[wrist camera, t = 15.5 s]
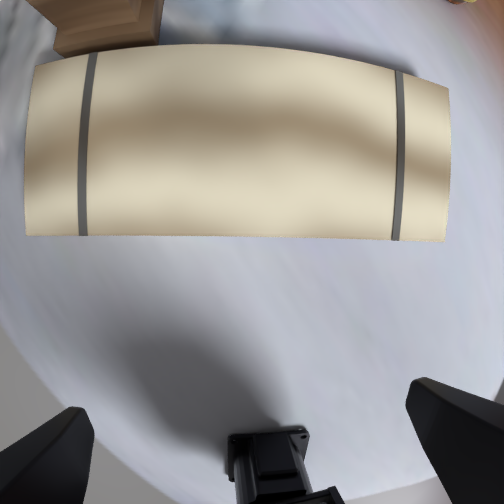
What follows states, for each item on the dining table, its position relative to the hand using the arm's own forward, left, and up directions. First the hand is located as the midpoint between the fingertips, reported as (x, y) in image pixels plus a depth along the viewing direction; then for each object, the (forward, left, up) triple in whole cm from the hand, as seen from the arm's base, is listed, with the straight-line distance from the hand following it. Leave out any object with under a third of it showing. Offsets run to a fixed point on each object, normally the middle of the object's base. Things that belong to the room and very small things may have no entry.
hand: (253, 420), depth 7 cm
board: (+8, 0, -12) cm, 14 cm away
